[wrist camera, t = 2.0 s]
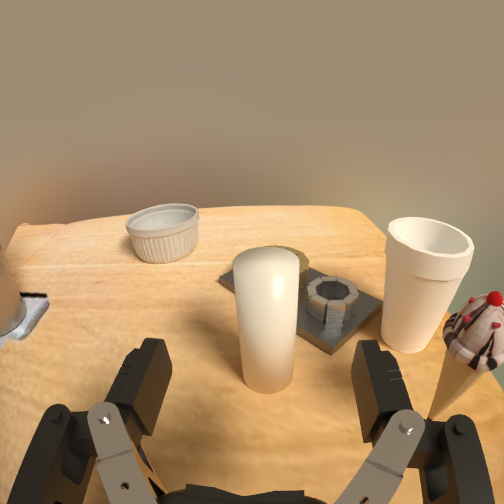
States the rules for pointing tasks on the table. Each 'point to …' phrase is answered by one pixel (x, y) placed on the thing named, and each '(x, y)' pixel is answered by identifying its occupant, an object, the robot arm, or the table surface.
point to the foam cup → (420, 279)
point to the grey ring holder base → (325, 306)
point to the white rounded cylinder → (267, 316)
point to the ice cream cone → (470, 348)
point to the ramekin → (164, 232)
